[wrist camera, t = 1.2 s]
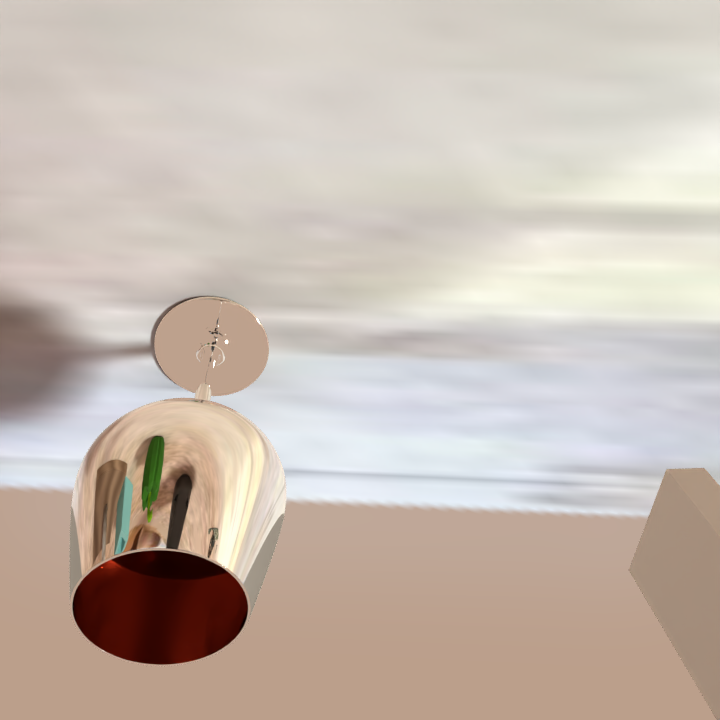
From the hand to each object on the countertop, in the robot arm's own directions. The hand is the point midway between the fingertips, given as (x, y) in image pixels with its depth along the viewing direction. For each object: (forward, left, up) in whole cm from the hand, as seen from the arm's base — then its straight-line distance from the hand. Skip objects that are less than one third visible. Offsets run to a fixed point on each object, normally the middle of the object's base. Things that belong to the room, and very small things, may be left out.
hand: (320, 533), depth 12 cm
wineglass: (+9, -4, -24) cm, 26 cm away
